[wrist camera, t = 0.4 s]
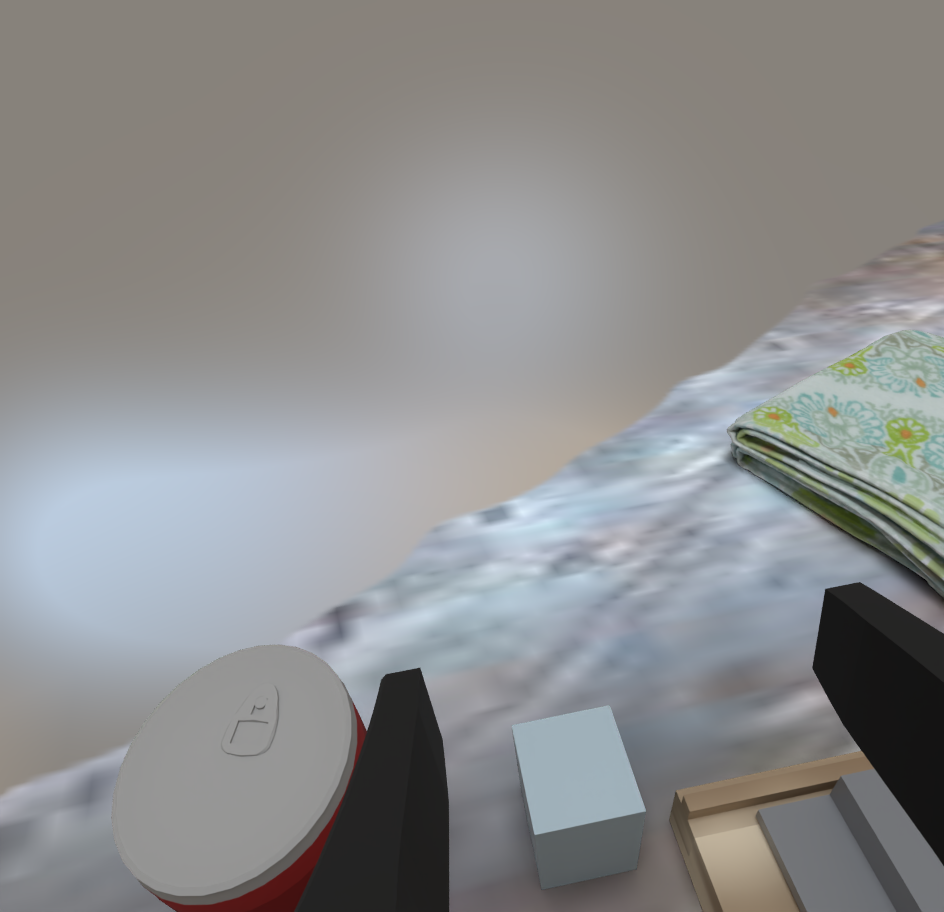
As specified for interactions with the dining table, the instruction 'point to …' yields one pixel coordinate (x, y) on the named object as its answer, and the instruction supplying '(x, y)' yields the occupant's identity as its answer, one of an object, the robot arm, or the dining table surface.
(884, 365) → the towel
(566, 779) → the block
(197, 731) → the canned food
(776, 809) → the cover
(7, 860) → the dining table surface
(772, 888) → the pedestal
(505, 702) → the dining table surface
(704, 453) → the dining table surface
